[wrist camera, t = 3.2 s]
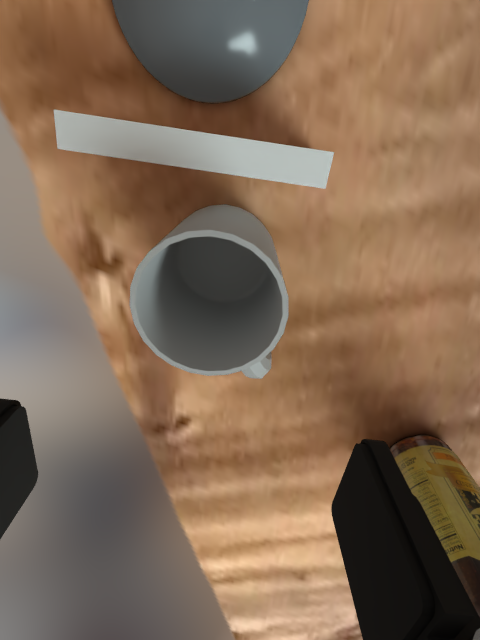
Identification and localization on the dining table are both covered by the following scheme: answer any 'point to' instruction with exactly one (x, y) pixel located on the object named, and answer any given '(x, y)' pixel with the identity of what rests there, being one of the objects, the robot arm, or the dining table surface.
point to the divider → (192, 149)
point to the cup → (212, 294)
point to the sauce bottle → (446, 503)
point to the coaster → (211, 42)
